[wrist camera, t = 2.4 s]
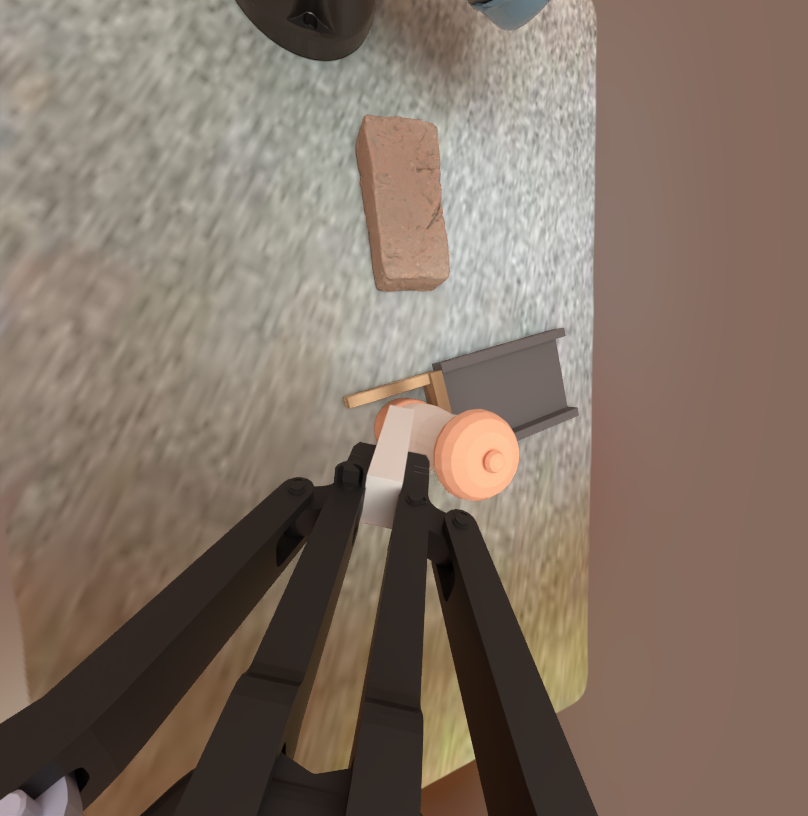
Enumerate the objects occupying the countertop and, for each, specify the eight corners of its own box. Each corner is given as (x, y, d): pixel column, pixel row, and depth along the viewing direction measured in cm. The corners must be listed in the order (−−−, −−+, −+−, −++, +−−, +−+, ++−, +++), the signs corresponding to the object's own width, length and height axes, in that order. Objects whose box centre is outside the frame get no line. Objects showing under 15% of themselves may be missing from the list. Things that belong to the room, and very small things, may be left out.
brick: (437, 290, 40) (456, 278, 36) (374, 293, 37) (386, 281, 33) (420, 149, 38) (437, 118, 34) (352, 141, 35) (361, 107, 31)
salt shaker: (412, 387, 40) (517, 390, 22) (437, 435, 41) (554, 475, 23) (363, 417, 38) (433, 448, 20) (392, 466, 39) (480, 536, 22)
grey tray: (455, 458, 43) (464, 462, 40) (432, 364, 40) (440, 363, 38) (565, 413, 49) (578, 415, 47) (550, 330, 47) (564, 327, 44)
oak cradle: (369, 486, 39) (376, 494, 36) (343, 397, 37) (348, 398, 34) (451, 454, 42) (462, 459, 39) (430, 371, 40) (441, 370, 38)
